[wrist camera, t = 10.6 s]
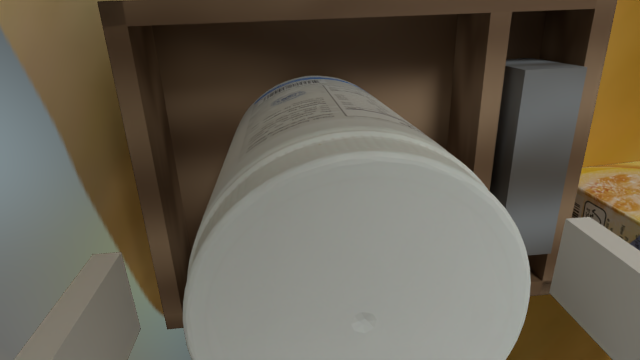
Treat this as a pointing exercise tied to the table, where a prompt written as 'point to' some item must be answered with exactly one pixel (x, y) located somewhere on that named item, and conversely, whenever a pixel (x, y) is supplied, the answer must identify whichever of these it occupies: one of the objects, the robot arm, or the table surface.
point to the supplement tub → (350, 241)
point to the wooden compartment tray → (370, 75)
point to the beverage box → (611, 199)
